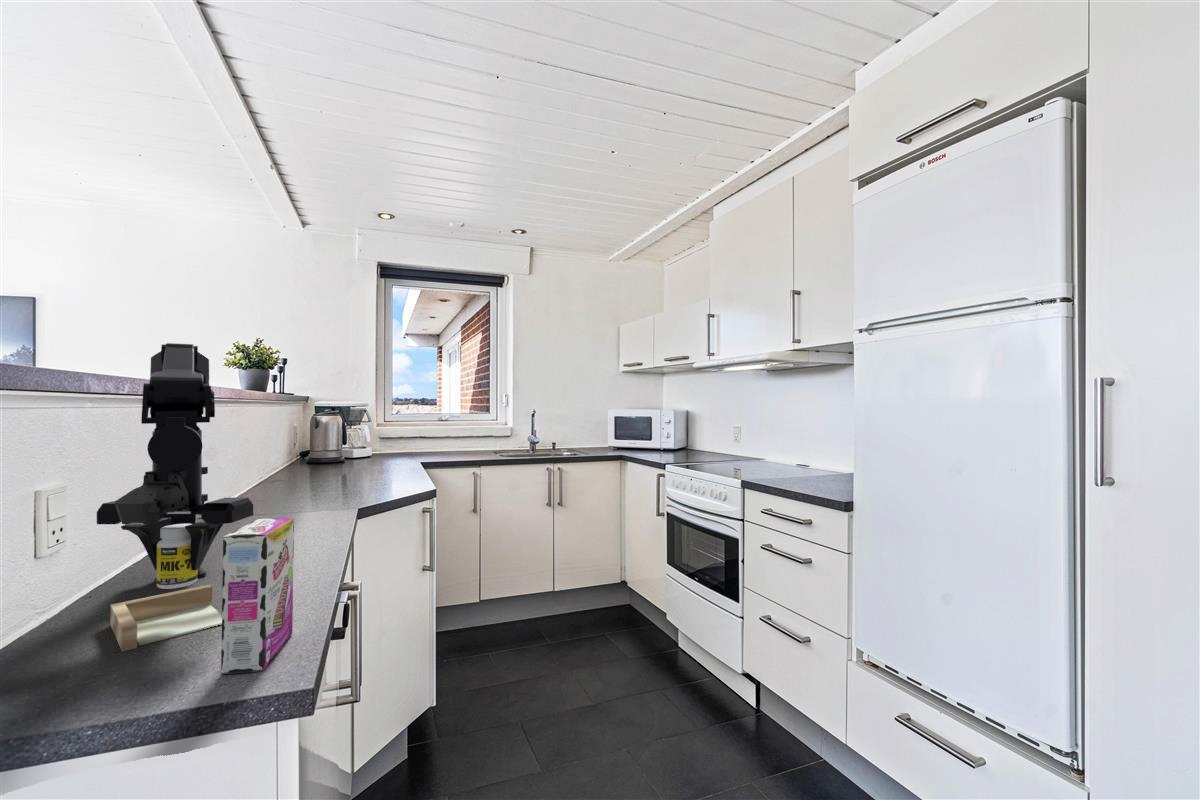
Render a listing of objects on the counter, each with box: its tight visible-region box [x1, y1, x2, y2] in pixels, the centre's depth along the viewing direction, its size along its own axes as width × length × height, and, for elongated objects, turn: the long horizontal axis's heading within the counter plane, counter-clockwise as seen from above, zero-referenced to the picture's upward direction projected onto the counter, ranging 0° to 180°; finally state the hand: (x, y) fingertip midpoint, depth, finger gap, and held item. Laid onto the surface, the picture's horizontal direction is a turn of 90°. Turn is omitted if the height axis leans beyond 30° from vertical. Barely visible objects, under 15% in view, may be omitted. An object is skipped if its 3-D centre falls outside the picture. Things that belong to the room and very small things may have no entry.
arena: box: [109, 584, 222, 653], centre depth 80 cm, size 12×12×3 cm
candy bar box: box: [220, 517, 295, 675], centre depth 71 cm, size 11×5×16 cm, turn 13°
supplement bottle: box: [155, 524, 198, 590], centre depth 81 cm, size 5×5×8 cm
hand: (177, 569), depth 81 cm, fingers closed on supplement bottle, 5 cm apart
